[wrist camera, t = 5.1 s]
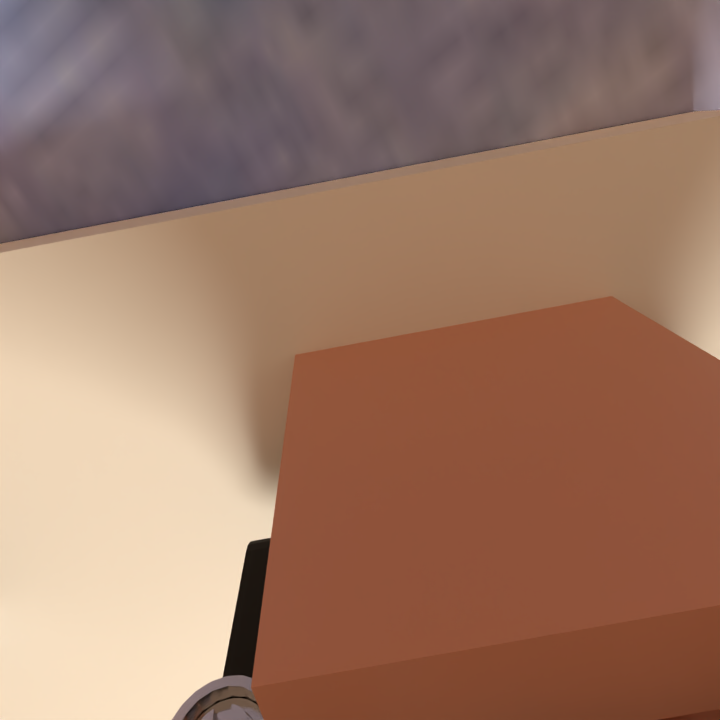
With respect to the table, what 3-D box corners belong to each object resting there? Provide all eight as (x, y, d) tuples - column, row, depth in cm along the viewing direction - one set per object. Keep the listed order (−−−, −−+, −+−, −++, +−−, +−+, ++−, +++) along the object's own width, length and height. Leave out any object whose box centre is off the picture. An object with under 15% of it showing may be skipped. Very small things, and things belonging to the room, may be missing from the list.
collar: (611, 296, 9) (1077, 570, 3) (605, 580, 12) (858, 991, 6) (294, 354, 9) (246, 715, 4) (361, 623, 12) (394, 1067, 6)
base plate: (695, 110, 9) (757, 108, 8) (656, 592, 14) (691, 641, 13) (-484, 336, 10) (-617, 370, 8) (-128, 730, 15) (-175, 792, 13)
